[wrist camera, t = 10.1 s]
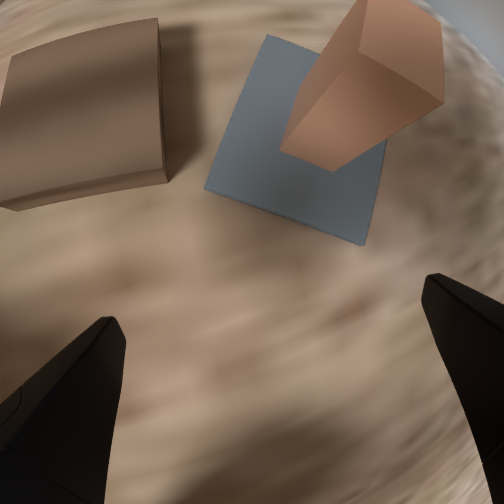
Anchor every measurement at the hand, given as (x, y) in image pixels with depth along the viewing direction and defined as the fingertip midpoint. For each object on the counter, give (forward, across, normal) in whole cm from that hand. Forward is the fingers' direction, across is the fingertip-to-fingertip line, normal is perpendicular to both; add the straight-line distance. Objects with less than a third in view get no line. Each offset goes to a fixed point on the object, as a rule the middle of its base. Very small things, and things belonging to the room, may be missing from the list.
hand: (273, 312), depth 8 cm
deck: (+12, +10, -6) cm, 17 cm away
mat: (+13, -4, -2) cm, 14 cm away
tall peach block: (+13, -4, -3) cm, 14 cm away
